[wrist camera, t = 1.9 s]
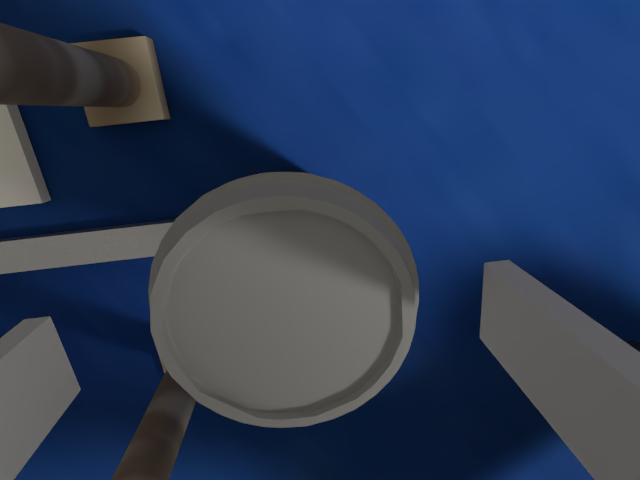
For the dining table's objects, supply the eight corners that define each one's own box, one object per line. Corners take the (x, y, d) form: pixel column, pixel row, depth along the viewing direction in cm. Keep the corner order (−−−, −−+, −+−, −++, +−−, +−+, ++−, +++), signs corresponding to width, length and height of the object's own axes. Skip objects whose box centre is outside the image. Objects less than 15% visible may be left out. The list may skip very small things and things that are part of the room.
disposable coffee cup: (184, 188, 22) (65, 270, 11) (325, 114, 21) (359, 118, 10) (262, 310, 25) (234, 474, 14) (388, 250, 24) (469, 372, 13)
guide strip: (169, 186, 22) (164, 189, 21) (184, 248, 23) (180, 253, 22) (-69, 213, 21) (-82, 216, 21) (-40, 274, 23) (-51, 279, 22)
